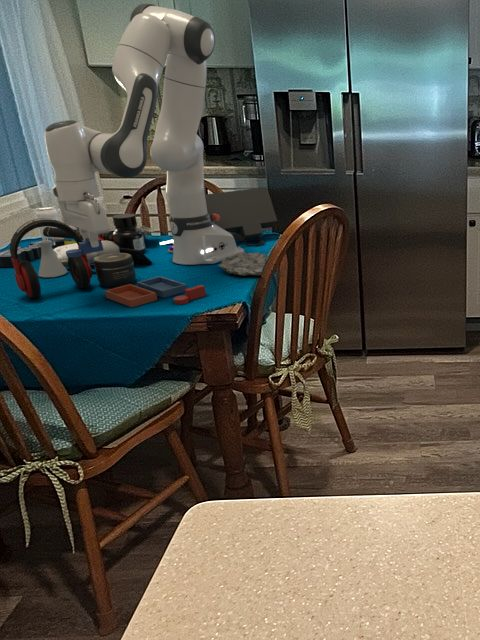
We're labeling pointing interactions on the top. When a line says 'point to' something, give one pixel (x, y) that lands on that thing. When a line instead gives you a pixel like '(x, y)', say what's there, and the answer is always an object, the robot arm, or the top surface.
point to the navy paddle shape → (84, 249)
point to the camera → (243, 211)
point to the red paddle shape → (191, 294)
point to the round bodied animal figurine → (107, 249)
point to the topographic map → (141, 228)
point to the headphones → (26, 271)
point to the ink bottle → (127, 232)
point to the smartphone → (136, 255)
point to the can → (47, 213)
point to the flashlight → (62, 234)
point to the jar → (115, 269)
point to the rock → (244, 263)
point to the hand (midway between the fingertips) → (92, 245)
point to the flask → (50, 261)
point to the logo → (28, 252)
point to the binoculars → (64, 251)
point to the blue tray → (163, 286)
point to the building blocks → (171, 249)
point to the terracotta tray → (131, 295)
